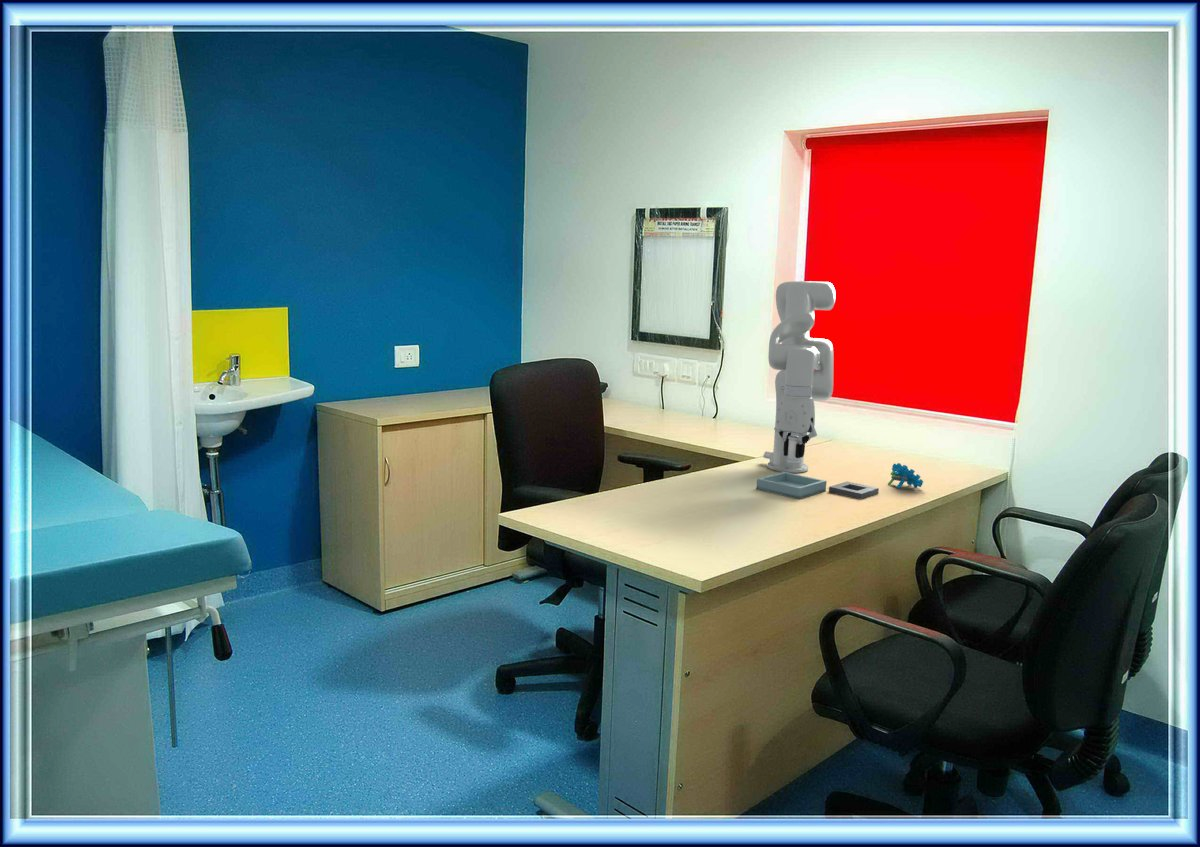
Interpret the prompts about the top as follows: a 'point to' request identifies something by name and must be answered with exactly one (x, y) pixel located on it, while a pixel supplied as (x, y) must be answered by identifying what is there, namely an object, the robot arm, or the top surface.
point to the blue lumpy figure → (904, 476)
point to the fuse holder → (853, 490)
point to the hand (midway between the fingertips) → (793, 455)
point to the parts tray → (791, 485)
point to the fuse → (792, 450)
